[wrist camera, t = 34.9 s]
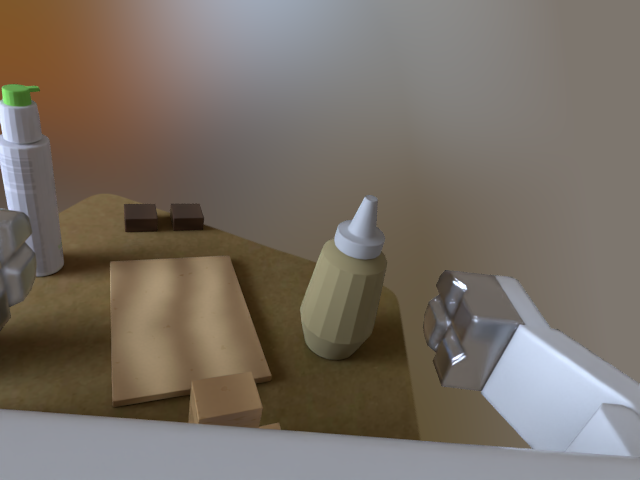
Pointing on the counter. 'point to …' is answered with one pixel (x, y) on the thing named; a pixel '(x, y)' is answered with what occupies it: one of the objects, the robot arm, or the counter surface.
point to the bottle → (30, 175)
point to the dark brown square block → (186, 217)
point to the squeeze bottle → (346, 286)
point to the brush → (227, 402)
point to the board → (178, 327)
